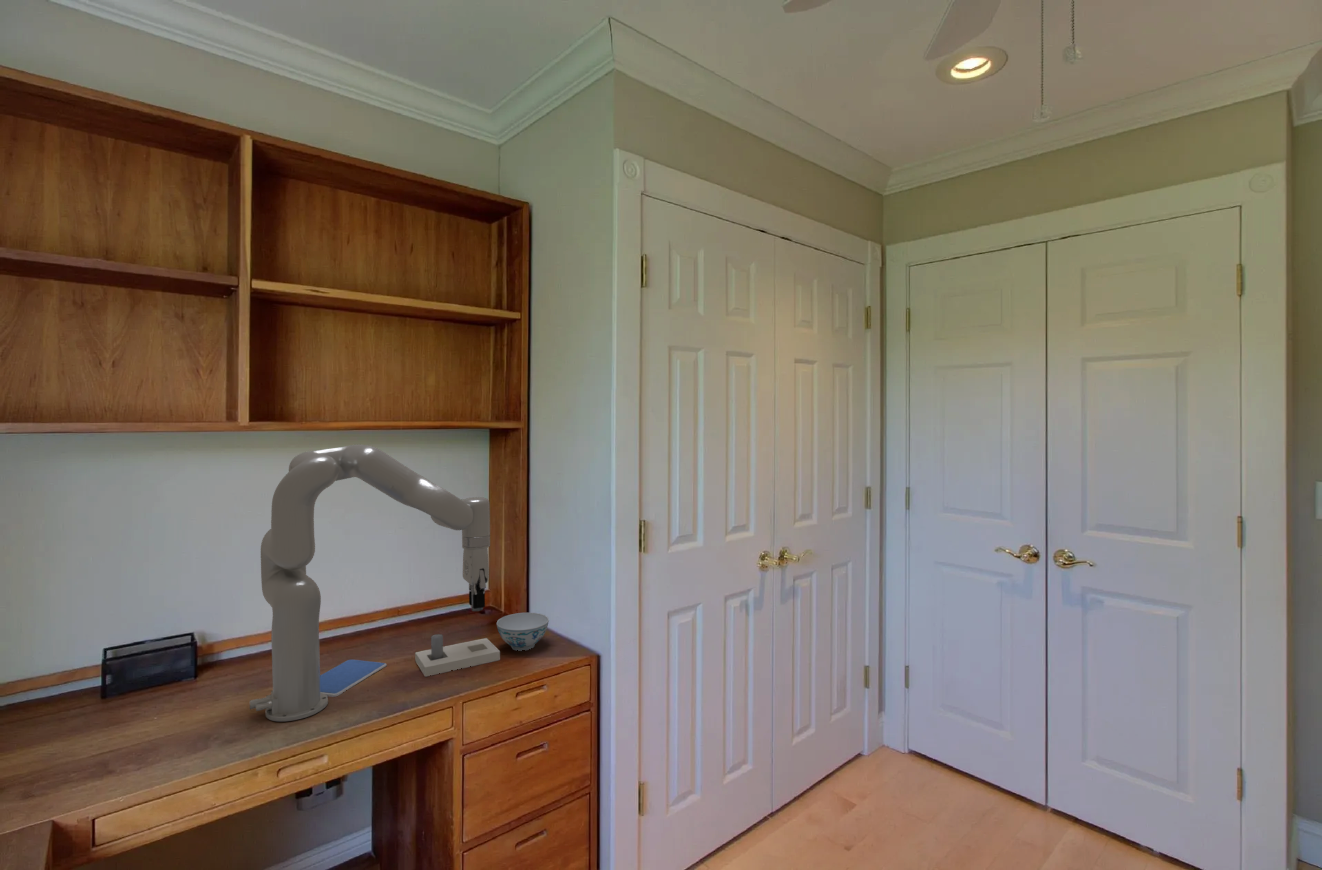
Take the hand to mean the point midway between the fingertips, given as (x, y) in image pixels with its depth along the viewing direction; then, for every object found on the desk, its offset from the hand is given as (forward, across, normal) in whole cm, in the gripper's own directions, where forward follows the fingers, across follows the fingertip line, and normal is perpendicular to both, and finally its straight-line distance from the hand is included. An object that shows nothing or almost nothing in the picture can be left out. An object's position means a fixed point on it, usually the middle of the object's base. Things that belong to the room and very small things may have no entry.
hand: (477, 605), depth 175 cm
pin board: (+15, 0, -6) cm, 16 cm away
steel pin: (+1, 0, 0) cm, 1 cm away
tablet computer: (+15, -5, -34) cm, 37 cm away
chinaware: (+15, 0, +13) cm, 20 cm away
